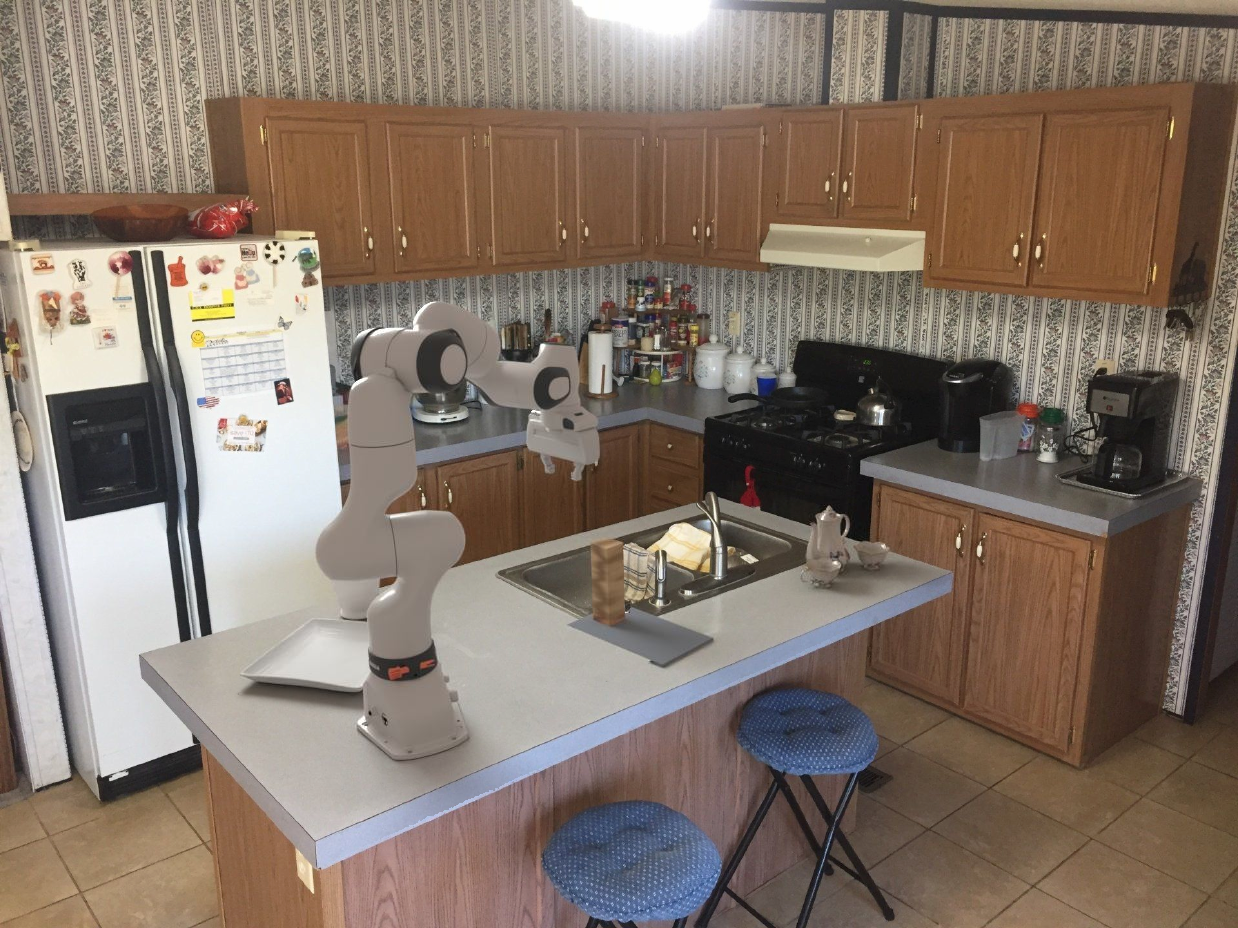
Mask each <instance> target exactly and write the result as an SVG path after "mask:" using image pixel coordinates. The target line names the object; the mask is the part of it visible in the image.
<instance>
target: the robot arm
mask: <svg viewBox="0 0 1238 928" xmlns="http://www.w3.org/2000/svg"><path fill="white" fill-rule="evenodd" d="M576 350H577V349H576V347H575V346H574V345H572V344H571V343H569V342H567V343H566V342H553V341H546V342H542V343H540V345H539V352H538V355H537V357H536V358H534V359H533V360H532V361H531V362H524V361H523V362H522V361H512V360H505V359H499V357H500V353H501V339H500V337H499V334H498V333H497V331H496V330H495V329H494V328H493V327H492V326H491V325H490V324H489V323H488V322H487V321H485V320H483V319H482V318H480V317H479V316H477V315H476V314H474V313H472V312H470V311H469V310H467V309H465V308H462V307H461V306H458V305H456V304H453V303H450V302H446V301H443V300H442V301H441V300H438V301H431V302H429V303H426V304H425V305H424V306H422V307H421V308H420V309H419V310H418V312H417V313H416V314H415V317H414V318H413V323H412V327H383V326H378V327H373V328H369V329H365V330H364V331H361V332H360V333H358V335H357V336H356V337H355V339H354V341H353V344H352V347H351V349H350V354H349V355H350V356H349V357H350V358H349V362H350V363H349V364H350V369H351V374H352V378H353V380H354V382H355V383H353V384H352V385H351V388H350V389H349V395H348V404H347V438H348V440H347V441H348V448H349V450H348V451H349V461H350V462H349V463H350V483H349V484H350V485H349V486H350V487H349V492H348V495H347V497H346V501H345V503H344V505H343V507H342V508H341V510H340V512H339V513H338V514H337V516H336V517H335V518H334V519H333V520H332V521H331V522H330V523H329V524H328V525H327V526H326V527H325V528H324V529H322V531H321V533H320V534H319V536H318V538H317V541H316V543H315V544H316V545H315V559H316V563H317V565H318V567H319V569H320V571H321V572H322V574H323V575H324V576H325V577H326V578H328V579H329V580H331V582H332V581H344V582H361V581H368V580H374V579H380V580H381V579H386V578H387V579H388V578H394V577H397V578H396V580H395V581H394V582H393V583H392V585H391V586H390V587H389V588H387V589H386V590H384V591H383V592H381V593H379V595H378V596H377V597H376V598H375V599H374V600H373V601H372V603H371V604H370V606H369V608H368V611H367V618H366V622H367V624H368V634H369V643H370V646H369V648H368V662H369V668H370V673H369V675H368V677H367V678H366V680H365V681H364V683H363V689H362V692H363V693H362V695H363V714H364V715H363V716H362V717H360V718H359V719H358V720H357V721H356V729H357V730H358V731H359V732H360V733H362V734H363V735H364V736H365V737H366V738H368V739H369V740H370V741H371V742H372V743H374V744H375V745H376V746H377V747H378V748H379V749H381V750H382V751H383V752H384V753H386V755H388V757H390V758H391V759H393V760H395V761H396V760H397V761H399V760H400V761H402V760H412V759H418V758H423V757H428V756H431V755H435V754H437V753H440V752H441V753H442V752H444V751H446V750H449V749H451V748H455V747H457V746H458V745H461V744H462V743H464V742H465V741H467V739H468V738H469V732H468V728H467V726H466V723H465V720H464V717H463V715H462V712H461V709H460V706H459V694H458V689H456V688H455V689H448V685H447V683H450V677H449V674H445V675H444V672H443V669H442V662H441V661H438V656H437V647H436V646H435V640H434V639H433V638H432V625H431V622H432V621H431V619H432V617H431V614H432V610H431V608H432V600H433V597H434V595H435V594H434V593H435V591H436V589H437V587H438V584H439V583H440V581H441V580H442V578H444V575H446V573H447V572H448V571H449V570H450V569H451V568H452V567H453V566H454V565H455V564H457V562H459V561H460V559H461V557H462V555H463V553H464V551H465V546H466V534H465V529H464V527H463V525H462V523H461V521H460V520H459V519H458V517H457V516H456V515H454V513H452V512H450V511H445V510H432V509H430V510H429V509H424V510H423V509H422V510H416V511H415V510H414V511H408V512H400V513H393V514H387V513H386V511H387V509H388V508H389V506H390V505H391V504H392V503H393V502H394V501H396V500H397V499H399V498H400V497H403V496H404V495H405V494H406V493H408V492H409V491H410V490H411V489H412V488H413V486H414V485H415V484H416V481H417V479H418V462H417V455H416V454H417V452H416V440H415V429H414V422H413V416H412V410H411V407H410V403H411V399H412V396H413V394H422V393H425V394H426V393H428V394H429V393H430V394H431V395H432V394H433V395H440V394H446V393H450V392H453V391H455V390H457V388H458V387H459V386H460V385H461V383H462V382H463V381H464V380H465V381H466V382H468V383H469V384H471V386H473V387H474V388H475V389H476V390H477V392H478V393H479V395H480V396H481V397H482V400H484V402H485V403H486V404H487V405H489V406H491V407H496V408H497V407H500V408H501V407H503V408H504V407H505V408H507V407H508V408H515V409H525V410H532V411H531V412H530V413H529V414H528V423H527V427H526V446H527V449H528V450H529V451H531V452H535V453H538V454H540V459H541V462H542V463H543V466H544V472H545V473H546V474H550V475H551V474H554V473H555V472H556V470H555V468H556V465H555V464H553V462H552V459H551V457H554V458H558V459H562V460H566V461H570V462H573V466H574V470H573V471H571V472H570V476H571V477H570V479H571V480H573V481H576V482H579V481H581V480H582V472H583V471H584V468H585V466H586V465H588V466H589V465H591V464H595V463H597V462H598V461H599V459H600V455H601V453H600V449H601V448H600V446H601V445H600V435H599V432H598V429H596V427H598V425H599V420H598V419H599V418H598V417H597V416H596V415H594V414H592V413H591V412H590V411H588V410H587V409H586V408H585V407H584V406H581V398H580V394H579V387H580V379H581V378H580V366H579V360H578V359H579V358H578V353H577V351H576Z"/></svg>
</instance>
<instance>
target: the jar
mask: <svg viewBox="0 0 1238 928" xmlns="http://www.w3.org/2000/svg"><path fill="white" fill-rule="evenodd" d="M331 582H332V583H331V584H332V588H333V591H334V594H335V598H336V601H337V603H338V605H339V607H340V608H341V609H340V611H339V612H340V613H339V614H340V616H341V617H342V618H344V619H345V620H351V621H357V620H363V619H367V611H368V608H369V606H370V604H371V603H372V601H373V600H374V599H375V598H376V597H377V596H378V595H379V594H380V584H381V583H380V582H381V579H374V580H368V581H361V582H344V581H332V580H331Z"/></svg>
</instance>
